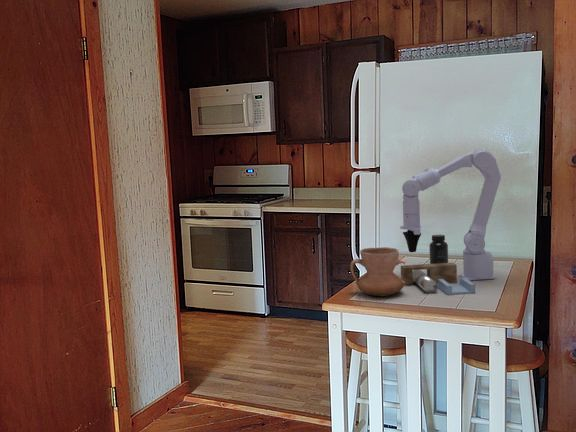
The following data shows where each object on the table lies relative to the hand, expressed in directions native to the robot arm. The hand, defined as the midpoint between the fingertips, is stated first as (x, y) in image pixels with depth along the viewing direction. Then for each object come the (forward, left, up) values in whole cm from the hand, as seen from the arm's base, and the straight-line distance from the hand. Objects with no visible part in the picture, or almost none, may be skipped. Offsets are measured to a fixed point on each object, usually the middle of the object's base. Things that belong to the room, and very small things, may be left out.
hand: (412, 251), depth 194 cm
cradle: (-8, +20, -9) cm, 24 cm away
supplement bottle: (-14, -14, -9) cm, 22 cm away
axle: (0, +14, -7) cm, 16 cm away
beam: (-3, +9, -9) cm, 13 cm away
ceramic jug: (+16, +18, -9) cm, 26 cm away
